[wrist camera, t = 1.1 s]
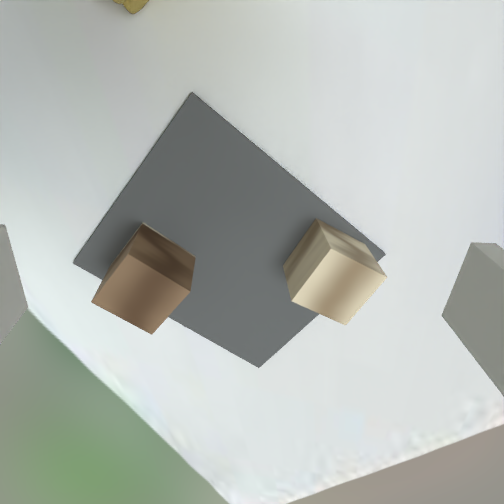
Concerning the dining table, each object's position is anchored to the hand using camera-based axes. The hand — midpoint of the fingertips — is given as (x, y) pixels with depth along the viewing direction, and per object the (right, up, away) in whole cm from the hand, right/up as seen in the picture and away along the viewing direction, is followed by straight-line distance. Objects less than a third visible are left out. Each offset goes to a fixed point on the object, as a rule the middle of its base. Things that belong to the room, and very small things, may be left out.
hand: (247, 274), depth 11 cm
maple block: (+7, 0, +27) cm, 28 cm away
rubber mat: (-2, 0, +27) cm, 27 cm away
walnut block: (-10, 0, +26) cm, 28 cm away
